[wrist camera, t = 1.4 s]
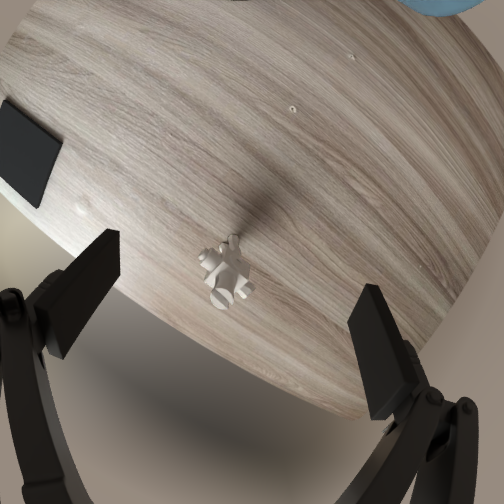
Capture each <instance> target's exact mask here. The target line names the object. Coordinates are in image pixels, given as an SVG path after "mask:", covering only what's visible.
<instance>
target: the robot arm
mask: <svg viewBox="0 0 504 504" xmlns="http://www.w3.org/2000/svg"><path fill="white" fill-rule="evenodd" d="M233 1H247V0H233ZM398 1H399V2H401V3H403V4H405V5H406V6H408V7H409V8H411V9H413V10H414V11H416V12H418V13H420V14H423V15H426V16H436V17H444V16H451V15H455V14H458V13H461V12H464V11H466V10H468V9H470V8H472V7H474V6H476V5H478V4H480V3H481V2H483V1H484V0H398ZM119 276H120V231H117V230H112V229H108V228H107V229H106V230H105V231H104V232H103V233H102V234H101V235H99V236H98V237H97V238H96V239H95V240H94V241H93V242H92V243H91V244H90V245H89V246H88V247H87V248H86V249H85V250H84V251H83V252H82V253H81V254H80V255H79V256H78V257H77V258H76V259H75V260H74V261H73V262H72V263H71V264H70V265H69V266H68V267H67V268H66V269H65V270H64V271H63V270H60V269H58V270H56V271H54V272H52V273H51V274H49V275H48V276H47V277H46V278H45V279H44V280H43V282H41V283H40V284H39V286H38V287H37V288H36V289H35V290H34V291H33V292H32V293H31V294H30V295H29V296H28V297H27V298H26V300H25V301H24V297H23V294H22V292H21V291H20V290H19V289H16V288H8V289H5V290H3V291H1V292H0V396H1V386H2V379H3V383H4V392H5V400H6V406H7V413H8V418H9V423H10V429H11V434H12V438H13V443H14V447H15V450H16V455H17V459H18V462H19V466H20V469H21V473H22V475H23V479H24V485H23V486H22V495H23V499H24V501H25V504H94V503H93V502H92V501H91V499H90V497H89V495H88V493H87V492H86V489H85V487H84V485H83V483H82V480H81V478H80V476H79V473H78V471H77V469H76V466H75V464H74V461H73V459H72V456H71V453H70V451H69V448H68V445H67V443H66V440H65V437H64V434H63V431H62V428H61V424H60V421H59V418H58V415H57V411H56V408H55V404H54V400H53V396H52V392H51V389H50V385H49V380H48V375H47V371H46V367H45V362H44V356H43V353H42V350H43V348H44V347H45V345H46V347H47V349H48V352H49V354H51V355H53V356H55V357H58V358H60V359H62V360H63V359H64V358H65V356H66V354H67V353H68V351H69V349H70V348H71V346H72V345H73V343H74V342H75V340H76V338H77V337H78V335H79V334H80V332H81V331H82V329H83V328H84V326H85V325H86V323H87V322H88V320H89V319H90V317H91V316H92V314H93V313H94V311H95V310H96V309H97V307H98V305H99V304H100V303H101V301H102V300H103V299H104V297H105V296H106V294H107V293H108V291H109V290H110V289H111V287H112V286H113V284H114V283H115V282H116V280H117V279H118V278H119ZM347 323H348V327H349V330H350V334H351V338H352V341H353V345H354V349H355V353H356V357H357V361H358V365H359V369H360V373H361V377H362V381H363V386H364V390H365V394H366V399H367V403H368V408H369V412H370V417H371V420H386V419H387V418H388V417H389V416H390V415H391V414H392V413H393V415H394V421H393V422H391V423H390V425H388V426H387V427H386V428H385V429H384V430H383V431H382V432H383V433H384V432H385V431H386V432H385V434H384V435H383V437H382V439H381V440H380V442H379V443H378V445H377V446H376V448H375V449H374V451H373V452H372V454H371V456H370V457H369V459H368V460H367V461H366V463H365V464H364V466H363V467H362V469H361V470H360V471H359V473H358V474H357V475H356V477H355V478H354V480H353V481H352V482H351V483H350V485H349V486H348V487H347V489H346V490H345V491H344V493H343V494H342V495H341V496H340V498H339V499H338V500H337V501H336V502H335V504H400V503H401V501H402V500H403V498H404V496H405V494H406V492H407V490H408V489H409V487H410V485H411V483H412V481H413V479H414V477H415V475H416V473H417V477H416V481H415V485H414V489H413V493H412V497H411V500H410V504H473V503H474V496H475V487H476V477H477V465H478V438H479V434H478V433H479V430H478V429H479V427H478V408H477V406H476V404H475V403H474V402H473V400H471V399H470V398H468V397H461V398H460V399H459V400H458V401H457V403H453V402H450V401H446V400H445V399H444V396H443V395H442V393H441V392H440V391H439V390H438V389H436V388H434V387H430V385H429V382H428V380H427V377H426V375H425V373H424V370H423V367H422V365H421V364H420V360H419V358H418V355H417V353H416V351H415V348H414V347H413V346H412V345H411V344H410V342H409V341H408V340H403V339H402V336H401V334H400V332H399V330H398V327H397V325H396V323H395V320H394V318H393V316H392V314H391V312H390V309H389V307H388V305H387V303H386V301H385V299H384V297H383V294H382V292H381V290H380V288H379V286H378V285H373V284H368V283H366V285H365V287H364V289H363V291H362V293H361V295H360V297H359V299H358V301H357V303H356V305H355V307H354V309H353V311H352V313H351V315H350V317H349V319H348V321H347ZM417 471H418V472H417Z"/></svg>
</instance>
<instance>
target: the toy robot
mask: <svg viewBox="0 0 504 504" xmlns="http://www.w3.org/2000/svg"><path fill="white" fill-rule="evenodd" d="M228 241H229V244H226V243H222V244H221V245H219V249H220V252H222V253H221V254H219V253H218V252H217V251H216V250H215V249H213V248H210V249H209V250H208V249H207V248H204V249H203V250H202V251H201V253H200V254H199V256H198V258H199V259H200V263H199V264H200V265H201V266H202V267H204V268H205V269H207V273H206V276H205V279H204V282H205V283H206V284H208V285H209V286H210V287H212V288H213V290H212V292H211V296H210V299H211V302H212V304H213V305H214V306H215V307H216V308H219V309H222V310H225V309H228V304H229V302H230V303H231V304H232V305H233V301H234V294H235V293H236V292H238V293H239V295H240V296H241V297H242V298H243V299H245V298H246V297H247V296H248V295H249V294H250V293H252V292H253V291H254V290H255V289H256V287H255V286H254V284H253V283H251V282H249V271H250V264H249V263H247V262H246V261H245V260H244V259H242V258H241V257H240V256H241V250H240V248H239V246H238V245H239V239H238V236H237V235H233V234H231V235H230V236H229V237H228Z"/></svg>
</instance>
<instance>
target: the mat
mask: <svg viewBox="0 0 504 504" xmlns="http://www.w3.org/2000/svg"><path fill="white" fill-rule="evenodd" d="M62 144H63V143H62V142H60V141H59V140H58V139H56V138H55V137H54V136H52V135H51V134H50V133H48V132H47V131H46V130H45V129H43V128H42V127H41V126H39V125H38V124H37V123H35V122H34V121H33V120H32V119H30V118H29V117H28V116H27V115H25V114H24V113H23V112H21V111H20V110H19V109H18V108H16V107H15V106H14V105H12V104H11V103H10V102H9V101H7V100H3V102H2V105H1V108H0V177H1V178H3V179H4V180H5V181H6V182H7V183H8V184H9V185H10V186H11V187H12V188H13V189H14V190H15V191H17V192H18V193H19V194H20V195H21V196H22V197H23V198H24V199H26V200H27V201H28V202H29V203H30V204H31V205H32V206H33V207H35V208H36V209H37V208H39V206H40V203H41V200H42V197H43V194H44V191H45V188H46V185H47V182H48V179H49V177H50V174H51V171H52V169H53V166H54V163H55V161H56V158H57V156H58V154H59V151H60V149H61V146H62Z"/></svg>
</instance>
